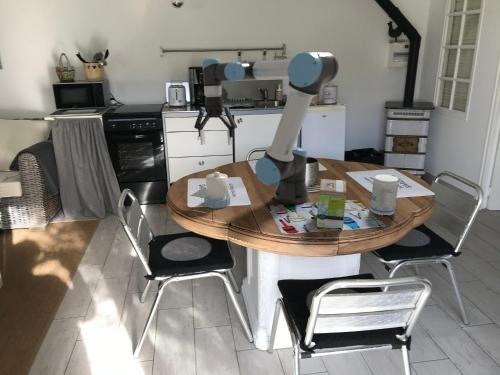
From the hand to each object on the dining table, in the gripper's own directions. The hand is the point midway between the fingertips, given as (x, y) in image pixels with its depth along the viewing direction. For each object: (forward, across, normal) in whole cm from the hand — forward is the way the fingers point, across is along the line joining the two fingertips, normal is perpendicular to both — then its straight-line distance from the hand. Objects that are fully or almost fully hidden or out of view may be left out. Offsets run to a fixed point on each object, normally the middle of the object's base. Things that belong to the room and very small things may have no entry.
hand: (216, 144), depth 186 cm
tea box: (+27, -54, +13) cm, 62 cm away
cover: (+20, -6, +15) cm, 25 cm away
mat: (+22, +3, +4) cm, 23 cm away
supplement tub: (+27, -72, -5) cm, 77 cm away
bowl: (+23, -6, +14) cm, 28 cm away
